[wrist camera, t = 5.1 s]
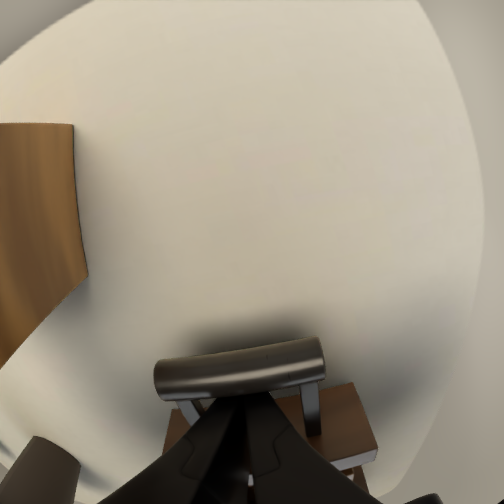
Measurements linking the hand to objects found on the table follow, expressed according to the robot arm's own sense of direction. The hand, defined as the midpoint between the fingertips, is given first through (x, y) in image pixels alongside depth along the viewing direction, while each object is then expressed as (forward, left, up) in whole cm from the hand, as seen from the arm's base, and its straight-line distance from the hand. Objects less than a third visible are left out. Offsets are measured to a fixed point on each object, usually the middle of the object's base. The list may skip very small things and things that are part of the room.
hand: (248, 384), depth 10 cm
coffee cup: (+16, +17, -2) cm, 24 cm away
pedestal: (+10, -5, -2) cm, 12 cm away
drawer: (-2, +6, -1) cm, 6 cm away
